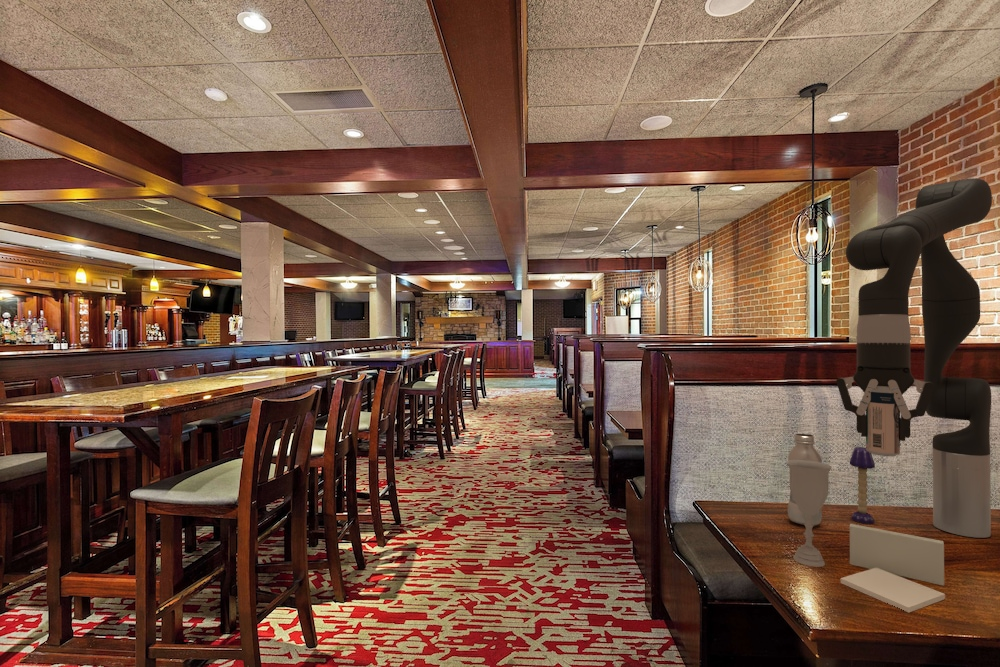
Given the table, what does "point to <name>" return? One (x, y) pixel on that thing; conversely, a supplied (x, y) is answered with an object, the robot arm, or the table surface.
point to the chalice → (809, 502)
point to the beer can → (883, 423)
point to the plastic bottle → (808, 453)
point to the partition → (897, 553)
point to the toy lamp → (862, 483)
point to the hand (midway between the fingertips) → (882, 437)
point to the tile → (893, 589)
